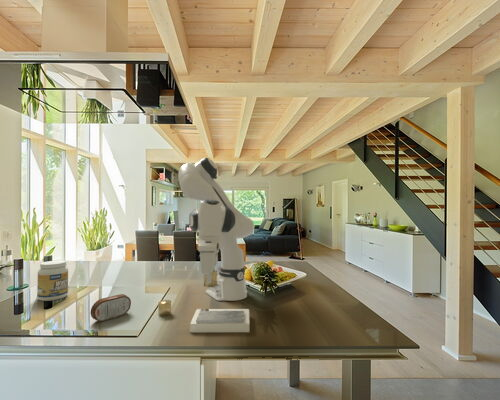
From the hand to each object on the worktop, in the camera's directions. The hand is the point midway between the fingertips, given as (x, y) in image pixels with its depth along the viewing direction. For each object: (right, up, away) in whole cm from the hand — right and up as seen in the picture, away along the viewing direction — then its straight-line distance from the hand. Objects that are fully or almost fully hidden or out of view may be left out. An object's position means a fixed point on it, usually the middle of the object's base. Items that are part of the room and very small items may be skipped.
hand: (210, 280), depth 105 cm
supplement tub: (-80, -17, +31) cm, 88 cm away
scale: (+4, -17, +2) cm, 17 cm away
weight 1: (-20, -17, +11) cm, 29 cm away
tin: (-40, -17, +7) cm, 44 cm away
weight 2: (0, -2, 0) cm, 2 cm away
